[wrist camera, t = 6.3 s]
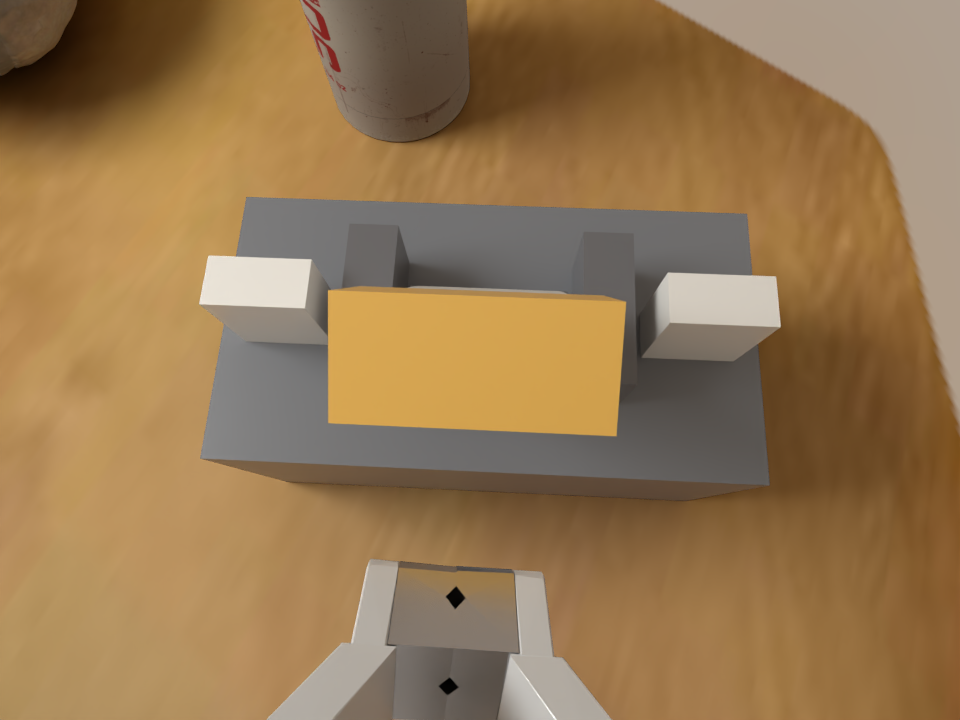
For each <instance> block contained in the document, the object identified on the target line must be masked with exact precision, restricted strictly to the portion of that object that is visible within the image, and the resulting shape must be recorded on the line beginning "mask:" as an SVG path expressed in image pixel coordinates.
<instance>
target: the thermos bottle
mask: <svg viewBox="0 0 960 720" xmlns="http://www.w3.org/2000/svg"><path fill="white" fill-rule="evenodd" d="M300 2H301V5H302V7H303V10H304V13H305V16H306V19H307V21H308V24H309V27H310V30H311V33H312V35H313V38H314V41H315V44H316V47H317V49H318V52H319V55H320V58H321V61H322V63H323V66H324V69H325V72H326V75H327V77H328V80H329V83H330V86H331V89H332V91H333V94H334V97H335V100H336V103H337V105H338V108H339V110H340V111H341V113H342V115H343V116H344V118H345V119H346V120H347V121H348V122H349V123H350V124H351V125H352V126H353V127H354V128H356V129H358V130H359V131H361V132H362V133H364V134H366V135H368V136H371V137H373V138H376V139H379V140H385V141H390V142H406V141H413V140H419V139H422V138H425V137H428V136H431V135H432V134H434V133H436V132H438V131H440V130H442V129H443V128H444V127H446V126H447V125H448V124H449V123H451V122H452V121H453V120H454V119H455V117H456V116H457V115H458V114H459V113H460V111H461V109H462V108H463V106H464V104H465V102H466V100H467V96H468V93H469V87H470V68H469V46H468V25H467V4H466V0H300Z"/></svg>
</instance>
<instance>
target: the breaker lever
mask: <svg viewBox="0 0 960 720" xmlns="http://www.w3.org/2000/svg"><path fill="white" fill-rule="evenodd" d="M625 312H626V302H625V301H622V300H618V299H615V298H611V297H607V296H604V295H579V294H567V291H543V290H517V289H491V288H464V287H438V286H412V285H411V286H410V287H409V288H395V287H369V286H357V287H350V288H342V289H334V290H328V423H334V424H356V425H378V426H400V427H422V428H444V429H466V430H488V431H510V432H533V433H555V434H577V435H599V436H616V435H617V422H618V408H619V394H620V380H621V367H622V353H623V339H624V326H625Z"/></svg>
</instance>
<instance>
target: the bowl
mask: <svg viewBox="0 0 960 720" xmlns="http://www.w3.org/2000/svg"><path fill="white" fill-rule="evenodd" d="M76 5H77V0H0V76H1V75H5V74H6V73H8V72H9V71H10V70H11V69H13V68H14V67H15V68H19V67H21V66H27V65H31V64H33V63H34V62H36V61H37V60H39V59H40V58H42V57H43V56H44V55H45V54H46V53H48V52H49V51H50V50H51V49H53V48H54V47H55V46H56V45H57V43H58V42H59V40H60V38H61V36H62V34H63V31H64V29H65V27H66V26H67V24H68V22H69V21H70V19H71V18H72V16H73V13H74V11H75V8H76Z"/></svg>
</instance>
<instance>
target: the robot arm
mask: <svg viewBox="0 0 960 720" xmlns="http://www.w3.org/2000/svg"><path fill="white" fill-rule="evenodd" d="M392 719H396V720H612V719H611V718H610V717H609V715H608V714H607V713H606V712H605V710H604V709H603V708H602V706H601V705H600V704H599V703H598V701H597V700H596V699H595V698H594V696H593V695H592V694H591V692H590V691H589V690H588V689H587V687H586V686H585V685H584V684H583V682H582V681H581V680H580V678H579V677H578V676H577V675H576V673H575V672H574V671H573V670H572V668H571V667H570V666H569V665H568V663H567V662H566V661H565V659H564V658H562V657H554V651H553V643H552V634H551V626H550V618H549V610H548V602H547V594H546V586H545V578H544V575H543V574H542V572H536V571H522V570H513V571H512V570H511V569H495V568H479V567H463V566H456V567H453V566H443V565H433V564H423V563H413V562H403V561H400V562H399V561H389V560H378V559H370V561H369V563H368V566H367V569H366V574H365V579H364V584H363V588H362V593H361V598H360V603H359V607H358V612H357V617H356V622H355V626H354V631H353V636H352V641H351V643H341V644H340V645H339V646H338V647H337V648H336V649H335V650H334V651H333V652H332V653H331V654H330V655H329V656H328V657H327V658H326V659H325V660H324V662H323V663H322V664H321V665H320V666H319V667H318V668H317V669H316V670H315V671H314V672H313V673H312V674H311V675H310V676H309V677H308V678H307V679H306V680H305V681H304V682H303V683H302V684H301V685H300V686H299V687H298V688H297V689H296V690H295V691H294V692H293V693H292V694H291V695H290V696H289V697H288V698H287V699H286V700H285V701H284V702H283V703H282V704H281V705H280V706H279V707H278V708H277V709H276V710H275V711H274V712H273V713H272V714H271V715H270V716H269V718H268V719H267V720H392Z"/></svg>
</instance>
